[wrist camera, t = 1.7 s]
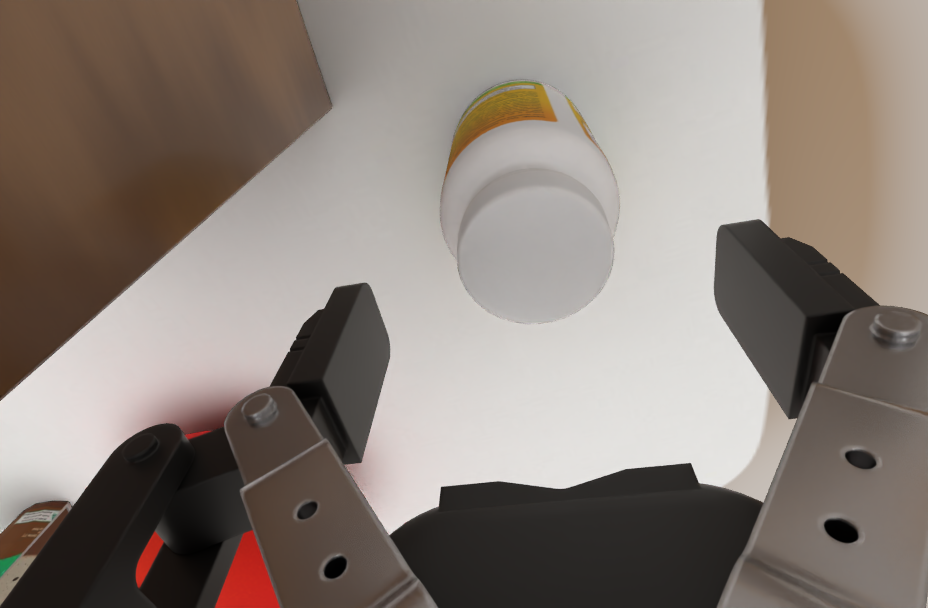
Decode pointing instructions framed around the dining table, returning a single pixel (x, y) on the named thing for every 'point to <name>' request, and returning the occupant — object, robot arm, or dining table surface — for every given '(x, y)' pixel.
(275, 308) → the dining table surface
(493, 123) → the supplement bottle
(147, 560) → the tomato
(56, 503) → the food container
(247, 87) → the stand
